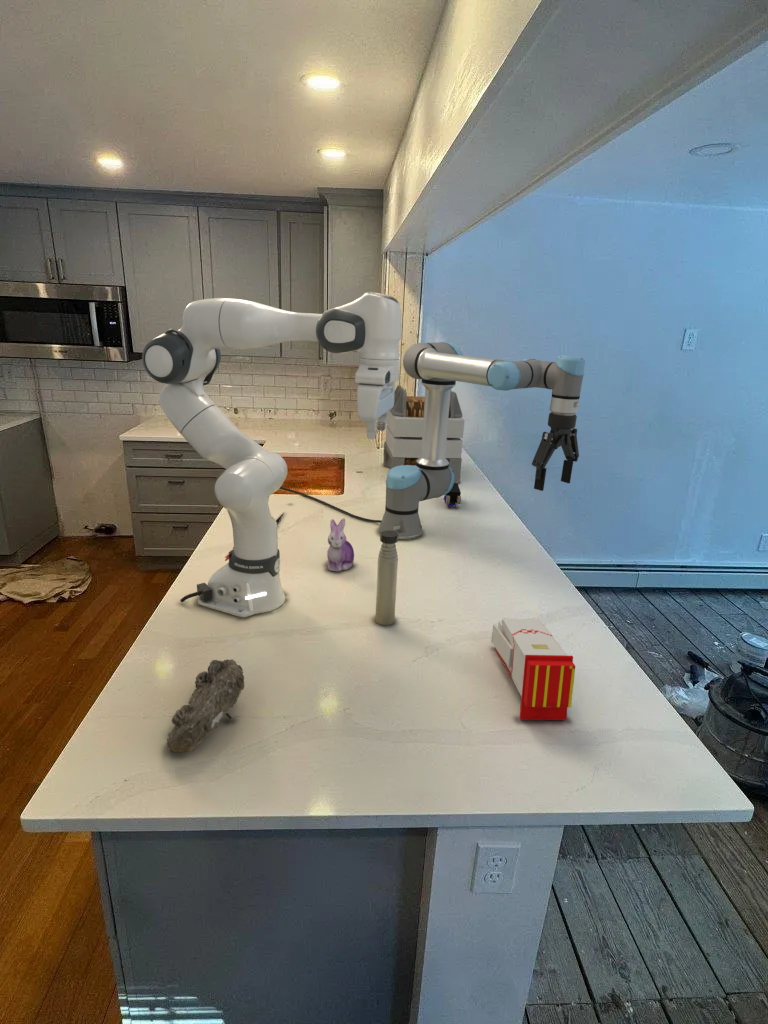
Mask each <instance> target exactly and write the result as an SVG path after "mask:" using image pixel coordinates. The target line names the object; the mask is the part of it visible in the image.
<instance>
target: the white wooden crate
mask: <svg viewBox="0 0 768 1024" xmlns="http://www.w3.org/2000/svg"><path fill="white" fill-rule="evenodd" d="M407 394H408V393H407V390H406V389H404V388H403V387H402V385H399V384H398V385H397V386H396V388H395V394H394V406H393V408H392V409H390V410H389V411H388V417H387V421H386V429H385V438H384V442H383V466H384V467H388V468H389V470H390V469H392V468H394V467H396V466H401V465H404V466H405V465H413V466H416V461H417V459H418V458H420V457H421V449H422V434H423V419H424V404H425V396H415V395H414V396H413V395H412V396H411V395H407ZM464 429H465V419H464V418H463V411H462V408H461V405H460V402H459V398H458V395H457V392H455V391H453V390H451V392H450V404H449V416H448V428H447V441H446V453H445V458H446V459H447V461H448V462H449V466H450V467H451V469H452V473H454V483H458V484H459V483H461V472H462V461H463V460H462V453H463V442H464V441H463V440H462V439H463V438H464V431H465V430H464Z"/></svg>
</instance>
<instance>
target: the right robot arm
mask: <svg viewBox="0 0 768 1024" xmlns="http://www.w3.org/2000/svg"><path fill="white" fill-rule="evenodd" d="M585 365H586V360H585V358H584V357H582V356H578V355H566V354H565V355H564V354H563V355H558V356H557V357H556V360H555V361H549V360H541V359H536V358H524V359H521V360H506V359H505V360H504V359H503V360H502V359H496V358H487V357H479V356H471V355H464V354H463V352H462V350H461V349H460V347H459V346H457V345H456V344H455V343H451V342H445V341H443V342H442V341H441V342H440V341H439V342H438V341H437V342H417V343H414V344H412V345H411V346H409V347H408V348H407V350H406V351H405V353H404V355H403V358H402V366H403V369H404V372H405V373H406V374H407V375H408V376H409V377H411V378H412V379H415V380H421V385H422V386H423V387H424V389H425V392H424V397H425V404H424V419H423V434H422V449H421V457H420V458H418V459H417V461H416V466H413V465H401V466H396V467H394V468H392V469H390V468H389V470H388V472H387V474H386V479H385V504H384V505H385V507H384V508H385V509H384V513H383V515H382V519H380V520H379V519H372V518H371V519H370V518H366V517H362V516H358V515H355V514H353V513H350V512H348V511H346V510H344V509H341V508H339V507H337V506H335V505H333V504H330V503H328V502H326V501H323V500H321V499H318V498H316V497H313V496H311V495H309V494H306V493H304V492H300V491H297V490H295V489H290V488H287V487H283V486H281V487H280V488H279V489H280V490H283V491H287V492H289V493H294V494H297V495H300V496H303V497H305V498H308V499H310V500H313V501H316V502H318V503H320V504H323V505H325V506H327V507H330V508H332V509H334V510H336V511H338V512H341V513H343V514H345V515H348V516H349V517H351V518H354V519H357V520H361V521H365V522H369V523H377V524H378V523H379V527H378V533H379V534H380V533H381V532H382V531H387V530H390V531H395V532H397V533H398V541H410V540H415V539H418V538H420V537H421V536H422V535H423V525H422V524H421V518H420V515H419V507H420V506H419V505H420V502H423V501H427V500H431V499H437V498H440V497H444V495H445V494H447V493H448V492H449V491H450V490H451V489H452V487H453V484H454V473H452V469H451V467H450V466H449V462H448V461H447V459H446V458H445V453H446V441H447V428H448V416H449V404H450V392H451V391H452V389H453V388H454V387H455V386H456V384H457V382H461V383H465V384H473V385H479V386H487V387H491V388H492V389H494V390H496V391H503V392H504V391H511V390H520V389H532V388H533V389H534V388H539V389H546V390H551V398H550V404H549V413H548V418H547V419H548V420H547V426H548V427H549V428H550V431H549V432H548V431H543V432H542V435H541V440H540V442H539V445H538V447H537V449H536V452H535V454H534V457H533V460H532V461H531V466H533V467H535V475H534V477H535V478H534V485H533V489H534V490H537V491H539V492H543V491H544V489H545V484H546V483H545V482H546V476H547V468H546V466H547V465H548V463H549V461H550V459H551V457H552V456H553V454H554V453H555V451H556V450H557V449H558V448H560V447H561V449H562V452H563V455H564V458H565V459H563V463H562V468H561V469H562V470H561V475H560V482H562V483H566V484H571V478H572V472H573V466H574V463H576V462H578V461H579V457H580V453H579V444H578V428H576V423H577V419H578V416H577V414H578V412H579V411H578V410H579V406H580V397H581V391H582V385H583V380H584V376H585ZM279 489H278V490H279Z"/></svg>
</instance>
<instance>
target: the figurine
mask: <svg viewBox="0 0 768 1024" xmlns="http://www.w3.org/2000/svg"><path fill="white" fill-rule="evenodd" d="M329 524H330V525H329V526H330V532H329V534H328V536H327V543H328V545H329V547H328V548H327V552H326V553H327V555H326V556H327V562H326V565H327V570H328V571H332V572H341V571H346V570H348V569H350V568H352V567H353V566H354V560H355V551H354V548H353V545H352V544H351V542H349V541H348V540H347V535H346V534H345V532H344V529H345V527H346V518H345V517H344V518H341V519H340V521H339V522H338V524H337V523H336V520H335V519H333V518H332V519H330V523H329Z"/></svg>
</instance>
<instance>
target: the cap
mask: <svg viewBox="0 0 768 1024" xmlns="http://www.w3.org/2000/svg"><path fill="white" fill-rule="evenodd" d="M379 541H380V542H381V544H382V543H386V544H394V543H395V544H396V543H398V541H399V540H398V533H397V532H395V531H390V530H387V531H382V532H381V533H380V532H379Z"/></svg>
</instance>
